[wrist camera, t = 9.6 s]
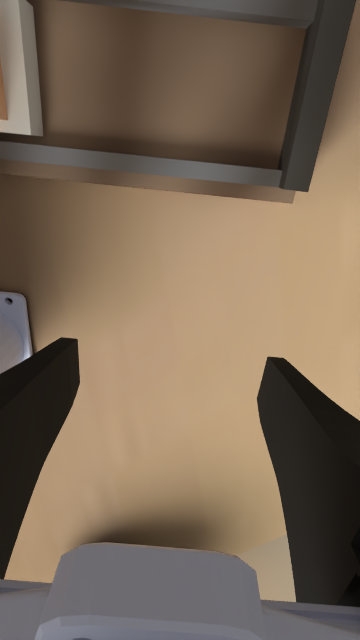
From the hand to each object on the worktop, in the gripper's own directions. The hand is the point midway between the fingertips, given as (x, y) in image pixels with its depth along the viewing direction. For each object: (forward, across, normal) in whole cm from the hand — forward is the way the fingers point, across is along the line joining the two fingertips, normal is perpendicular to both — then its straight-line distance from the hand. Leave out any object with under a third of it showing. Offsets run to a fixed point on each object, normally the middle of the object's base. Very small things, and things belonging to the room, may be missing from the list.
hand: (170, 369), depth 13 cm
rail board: (+10, +4, -10) cm, 15 cm away
